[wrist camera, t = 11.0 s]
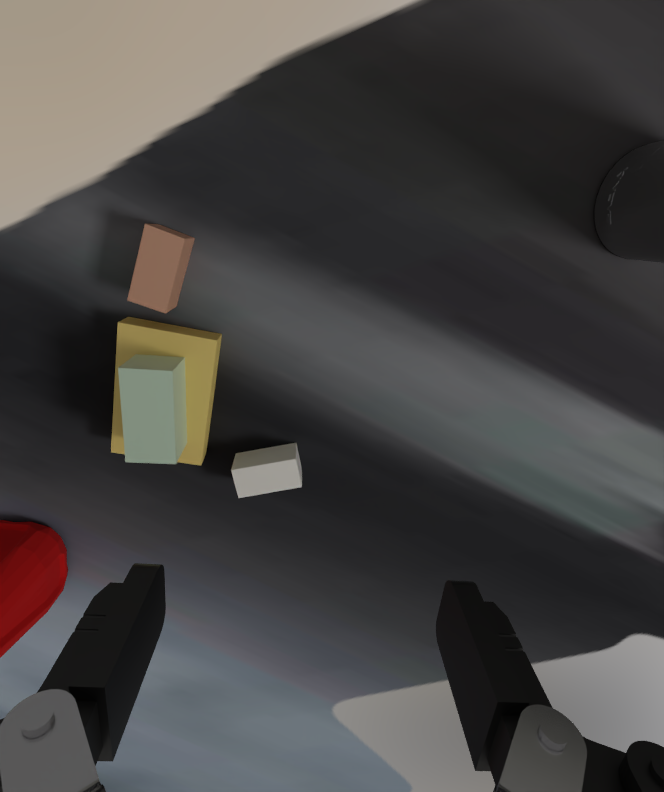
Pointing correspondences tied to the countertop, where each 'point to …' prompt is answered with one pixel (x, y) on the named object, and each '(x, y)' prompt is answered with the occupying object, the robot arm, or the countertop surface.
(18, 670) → the countertop surface
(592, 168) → the countertop surface
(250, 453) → the cream brick
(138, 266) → the rust brick
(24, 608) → the water bottle
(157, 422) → the sage brick
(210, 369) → the mustard base brick
